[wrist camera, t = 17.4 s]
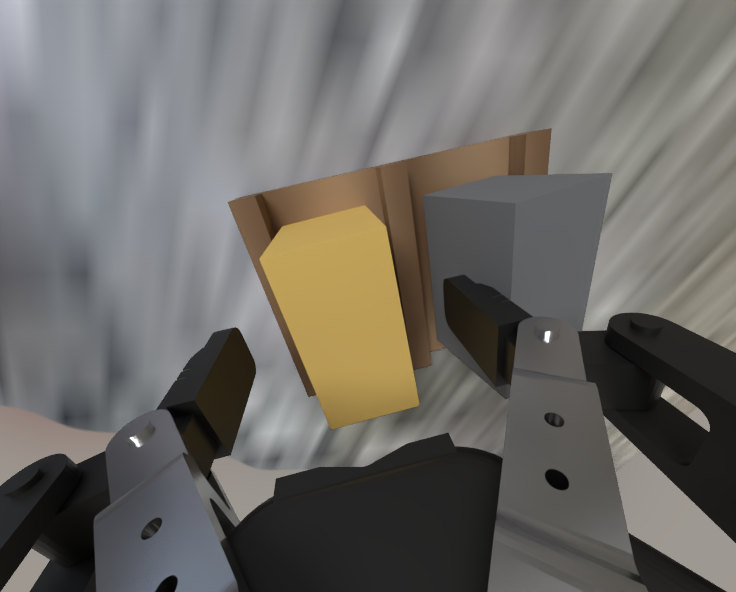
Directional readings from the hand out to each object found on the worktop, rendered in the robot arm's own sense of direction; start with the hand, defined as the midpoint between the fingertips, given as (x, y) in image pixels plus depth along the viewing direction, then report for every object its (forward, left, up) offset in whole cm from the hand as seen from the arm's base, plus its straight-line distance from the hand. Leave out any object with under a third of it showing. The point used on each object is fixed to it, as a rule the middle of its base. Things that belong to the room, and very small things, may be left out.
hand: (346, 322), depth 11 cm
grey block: (+6, -1, -4) cm, 7 cm away
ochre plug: (0, -1, -4) cm, 4 cm away
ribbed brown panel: (+3, -1, -5) cm, 6 cm away
